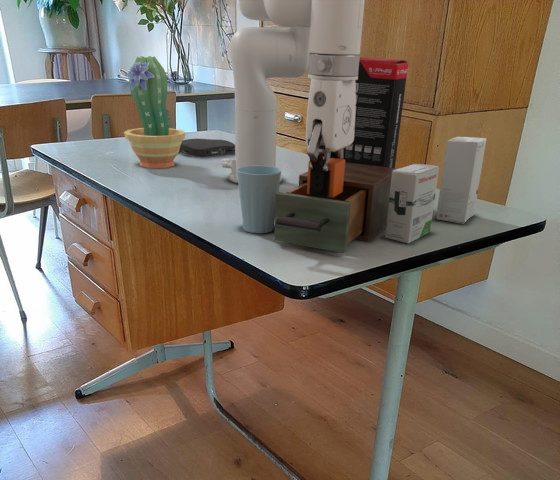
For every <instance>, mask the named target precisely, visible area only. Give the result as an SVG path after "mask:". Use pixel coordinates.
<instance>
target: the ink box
mask: <svg viewBox="0 0 560 480" xmlns="http://www.w3.org/2000/svg"><path fill="white" fill-rule="evenodd" d="M439 171H440V166H438V165H434V164H433V165H432V164H423V163H413V164H410V165H407V166H404V167H400V168H397V169H396V170H393V171H392V179H391V188H390V198H389V206H388V215H387V224H386V226H385V235H384V238H385V239H390V240H394V241H396V242H400V243H405V244H411V243H412V242H414V241H416V240H419V239H420V238H422V237H424V236H426V235H428V234H429V233H431V229H432V228H431V227H432V221H433V214H434V208H435V200H436V199H435V198H436V193H437V186H438V180H439V179H438V178H439Z"/></svg>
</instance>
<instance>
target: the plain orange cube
mask: <svg viewBox="0 0 560 480" xmlns="http://www.w3.org/2000/svg"><path fill="white" fill-rule="evenodd" d="M323 159H324V157H323ZM307 164H308V165H307V172H308V182H307V194H310V193H309V189H310V171H311V169H310V160H308V163H307ZM328 170H329V171H330V185H329V195H328V196H326V197H331V198H333V197H335V196H337V195H338V194H340V193H342V192H343V182H344V170H345V159H337V158H330V161H329V168H328Z"/></svg>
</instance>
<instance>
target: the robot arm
mask: <svg viewBox="0 0 560 480" xmlns="http://www.w3.org/2000/svg"><path fill="white" fill-rule="evenodd" d="M365 2H366V1H365V0H238V5H239V10H240V13H241V15H242V16H243V17H245V18H246V19H248V20H251V21H257V22H258V21H259V22H271V23H273V24H274V25H276V26H279V27H266V26H265V27H263V26H259V27H258V26H249V27H243V28H240V29H238V30H237V31H235V32H234V33H233V34H232V37H231V39H230V43H229V52H230V53H229V54H230V62H231V69H232V76H233V87H234V131H235V132H234V134H235V136H234V137H235V138H234V144H235V153H234V154H235V156H234V157H235V158H228V157H227V158H226V157H224V158H223V159H222V163H221V167H222V168H224V169H230V170H231V172H230V173H229V174H228V179H229V181H230V182H233V183H235V184H238V177H237V169H238V168H239V167H243V166H253V165H261V166H271V167H276V168H277V166H276V165H277V164H276V163H277V161H276V160H277V128H278V127H277V125H278V121H277V120H278V100H277V97H276V94H275V92H274V90H273V89H272V87H271V86H270V85H269V83H268V81H267V79H271V78H279V79H281V78H284V79H286V78H289V79H291V78H293V79H294V78H299V77H302V76H304V75H305V74H306V73H307V79H310V84H309V92H308V99H307V101H308V102H307V108H306V121H305V145H306V147H307V148H306V149H307V150H306V155H307V156H308V158H309V161H310V169H311V171H310V189H309V193H310V194H311V195H317V196H324V197H326V196H328V195H329V185H330V171H329V170H328V168H329V161H330V158H337V159H343V152H344V150H345V147H347V146H349V145H351V144H352V143H353V141H354V132H355V112H356V83H355V80H358V70H359V59H360V57H361V46H362V35H363V34H362V33H363V24H364V23H363V21H364V13H365V11H364V10H365ZM281 27H282V28H281ZM283 27H284V28H283ZM321 145H322V146H325V149H319V146H321ZM319 153H323V154H325V156H324V159H323V156H322V155H321V154H319ZM282 180H283V176H282V174H281V176H280V182H282Z"/></svg>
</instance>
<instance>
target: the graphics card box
mask: <svg viewBox="0 0 560 480" xmlns="http://www.w3.org/2000/svg"><path fill="white" fill-rule="evenodd" d="M408 70H409V62H408V61H407V60H404V59H397V58H396V59H395V58H383V57H382V58H380V57H366V56H365V57H364V56H360V59H359V70H358V80H355V83H356V112H355V132H354V141H353V143H352V144H351V145H349V146H347V147H345V150H344V152H343V159H345V162H346V163H354V164H363V165H371V166H380V167H388V168H396V161H397V154H398V148H399V147H398V146H399V137H400V131H401V123H402V115H403V108H404V100H405V93H406V85H407V78H408V72H409V71H408ZM319 149H325V146H322V145H321V146H319ZM319 154H321V155H322V156H323V157H324V156H325V154H323V153H319Z"/></svg>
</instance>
